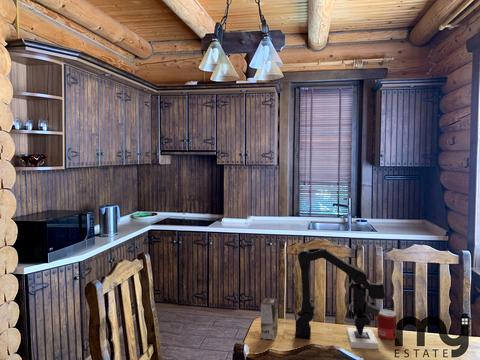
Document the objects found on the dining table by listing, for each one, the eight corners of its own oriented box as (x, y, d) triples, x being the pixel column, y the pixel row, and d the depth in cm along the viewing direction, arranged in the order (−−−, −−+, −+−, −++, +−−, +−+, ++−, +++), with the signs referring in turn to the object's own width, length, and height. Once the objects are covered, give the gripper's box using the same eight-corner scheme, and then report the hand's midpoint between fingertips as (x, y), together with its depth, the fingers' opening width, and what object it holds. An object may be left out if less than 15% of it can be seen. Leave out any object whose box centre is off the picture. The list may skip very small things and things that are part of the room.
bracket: (357, 339, 154) (357, 323, 154) (356, 334, 159) (356, 319, 159) (367, 340, 154) (367, 324, 153) (365, 334, 158) (365, 319, 158)
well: (351, 347, 150) (351, 341, 150) (346, 332, 164) (346, 327, 164) (378, 349, 149) (378, 343, 148) (371, 334, 162) (371, 328, 162)
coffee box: (274, 341, 157) (274, 305, 156) (260, 339, 159) (260, 304, 158) (278, 332, 166) (277, 298, 165) (264, 330, 167) (264, 297, 167)
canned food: (398, 341, 156) (398, 316, 156) (379, 339, 157) (379, 315, 157) (394, 333, 163) (394, 309, 163) (376, 331, 165) (376, 308, 165)
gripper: (383, 306, 146) (383, 343, 146) (373, 291, 164) (373, 324, 164) (355, 305, 147) (355, 342, 148) (349, 290, 166) (349, 323, 166)
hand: (359, 332), depth 156 cm, fingers closed on bracket, 5 cm apart
